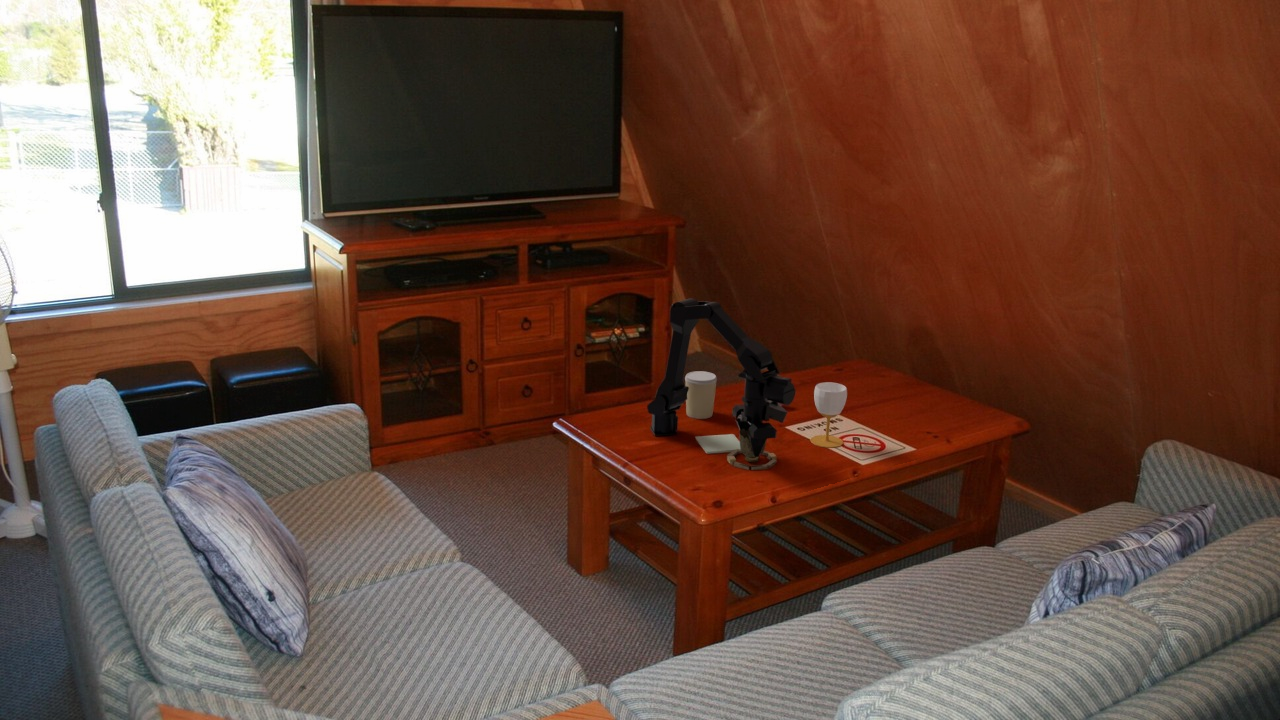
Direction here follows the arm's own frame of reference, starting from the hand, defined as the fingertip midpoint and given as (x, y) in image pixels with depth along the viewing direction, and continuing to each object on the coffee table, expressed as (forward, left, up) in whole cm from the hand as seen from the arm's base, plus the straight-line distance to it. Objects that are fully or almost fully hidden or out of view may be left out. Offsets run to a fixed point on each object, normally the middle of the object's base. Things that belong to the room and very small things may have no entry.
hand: (752, 451), depth 276 cm
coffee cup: (-4, +36, -3) cm, 36 cm away
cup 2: (+25, +9, -3) cm, 27 cm away
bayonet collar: (0, 0, -2) cm, 2 cm away
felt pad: (-5, +12, -2) cm, 13 cm away
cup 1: (0, 0, -3) cm, 3 cm away
